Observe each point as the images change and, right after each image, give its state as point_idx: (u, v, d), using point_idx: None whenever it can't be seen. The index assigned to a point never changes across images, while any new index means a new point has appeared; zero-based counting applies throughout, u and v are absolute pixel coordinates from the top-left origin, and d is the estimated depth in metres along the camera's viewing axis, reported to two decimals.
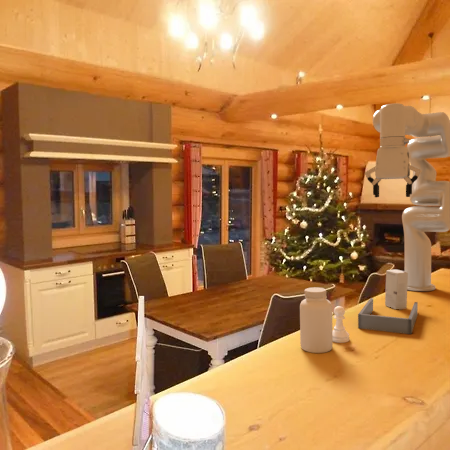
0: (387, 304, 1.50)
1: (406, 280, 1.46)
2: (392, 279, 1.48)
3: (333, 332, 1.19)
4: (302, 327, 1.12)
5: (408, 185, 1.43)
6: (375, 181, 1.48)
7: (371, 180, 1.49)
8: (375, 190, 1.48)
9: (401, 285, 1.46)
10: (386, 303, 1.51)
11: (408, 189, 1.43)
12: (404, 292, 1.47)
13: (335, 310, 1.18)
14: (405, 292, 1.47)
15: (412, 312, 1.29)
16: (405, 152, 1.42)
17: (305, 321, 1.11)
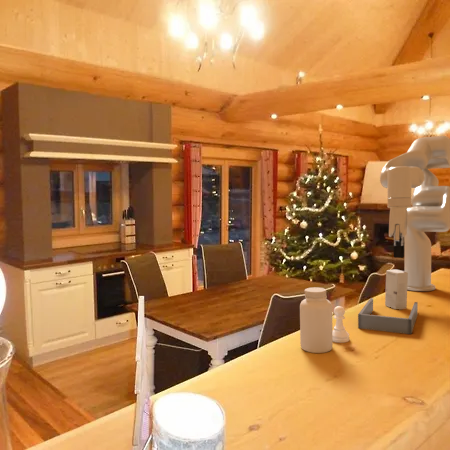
0: (387, 304, 1.50)
1: (406, 280, 1.46)
2: (392, 279, 1.48)
3: (333, 332, 1.19)
4: (302, 327, 1.12)
5: None
6: (402, 242, 1.53)
7: None
8: (403, 251, 1.53)
9: (401, 285, 1.46)
10: (386, 303, 1.51)
11: None
12: (404, 292, 1.47)
13: (335, 310, 1.18)
14: (405, 292, 1.47)
15: (412, 312, 1.29)
16: None
17: (305, 321, 1.11)
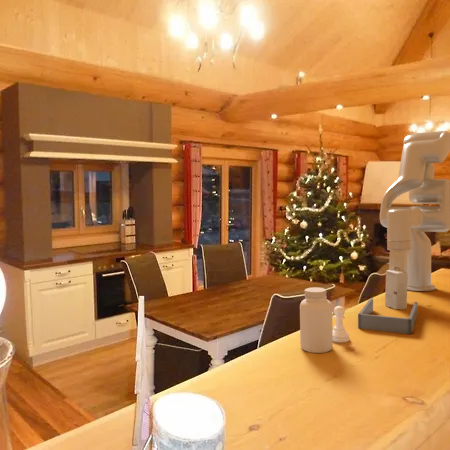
0: (387, 304, 1.50)
1: (406, 280, 1.46)
2: (392, 279, 1.48)
3: (333, 332, 1.19)
4: (302, 327, 1.12)
5: None
6: None
7: None
8: None
9: (401, 285, 1.46)
10: (386, 303, 1.51)
11: None
12: (404, 292, 1.47)
13: (335, 310, 1.19)
14: (405, 292, 1.47)
15: (412, 312, 1.29)
16: None
17: (305, 321, 1.11)
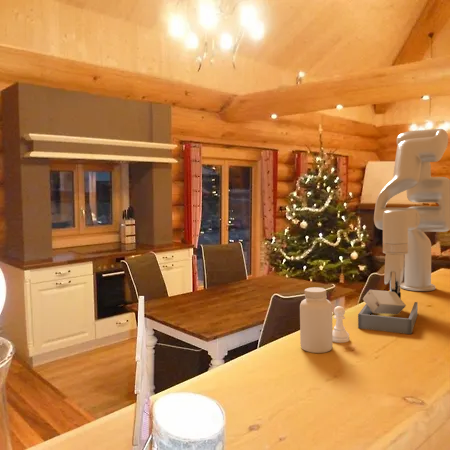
0: None
1: (385, 305, 1.35)
2: None
3: (333, 332, 1.19)
4: (302, 327, 1.12)
5: None
6: (399, 289, 1.45)
7: (397, 289, 1.44)
8: (400, 298, 1.45)
9: (385, 310, 1.36)
10: None
11: None
12: (392, 307, 1.37)
13: (335, 310, 1.18)
14: (393, 306, 1.37)
15: (412, 312, 1.29)
16: None
17: (305, 321, 1.11)
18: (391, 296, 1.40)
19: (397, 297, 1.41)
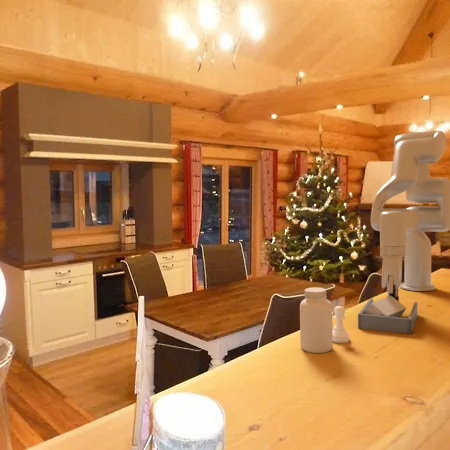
0: None
1: (390, 315, 1.30)
2: None
3: (333, 332, 1.19)
4: (302, 327, 1.12)
5: None
6: (397, 293, 1.41)
7: (394, 293, 1.39)
8: None
9: None
10: None
11: None
12: (396, 314, 1.33)
13: (335, 310, 1.18)
14: (396, 313, 1.32)
15: (412, 312, 1.29)
16: None
17: (305, 321, 1.11)
18: (391, 302, 1.35)
19: (396, 301, 1.37)
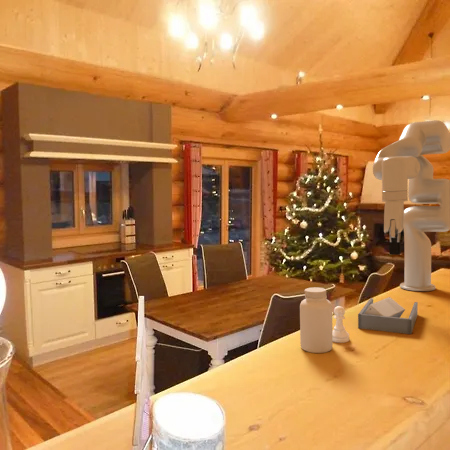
0: None
1: None
2: None
3: (333, 332, 1.19)
4: (302, 327, 1.12)
5: None
6: (399, 238, 1.43)
7: None
8: (400, 247, 1.43)
9: None
10: None
11: None
12: (395, 316, 1.31)
13: (335, 310, 1.18)
14: (395, 315, 1.31)
15: (412, 312, 1.29)
16: None
17: (305, 321, 1.11)
18: (389, 304, 1.33)
19: (394, 303, 1.35)
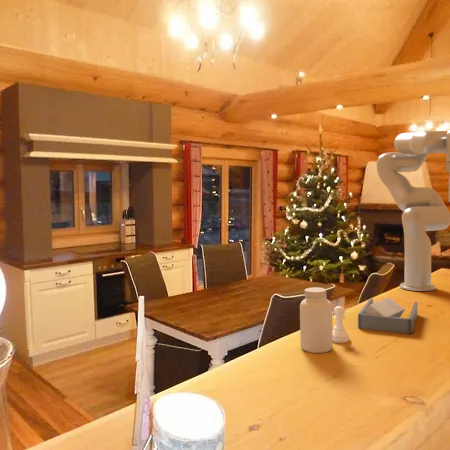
0: None
1: None
2: None
3: (333, 332, 1.19)
4: (302, 327, 1.12)
5: None
6: None
7: None
8: None
9: None
10: None
11: None
12: (395, 316, 1.31)
13: (335, 310, 1.18)
14: (395, 315, 1.31)
15: (412, 312, 1.29)
16: None
17: (305, 321, 1.11)
18: (389, 304, 1.33)
19: (394, 302, 1.35)
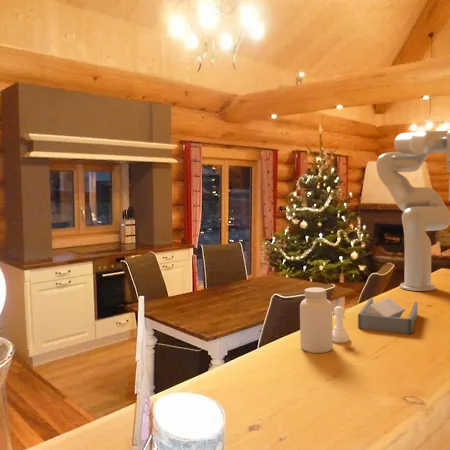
0: None
1: None
2: None
3: (333, 332, 1.19)
4: (302, 327, 1.12)
5: None
6: None
7: None
8: None
9: None
10: None
11: None
12: (395, 316, 1.31)
13: (335, 310, 1.18)
14: (395, 315, 1.31)
15: (412, 312, 1.29)
16: None
17: (305, 321, 1.11)
18: (389, 304, 1.33)
19: (394, 302, 1.35)
